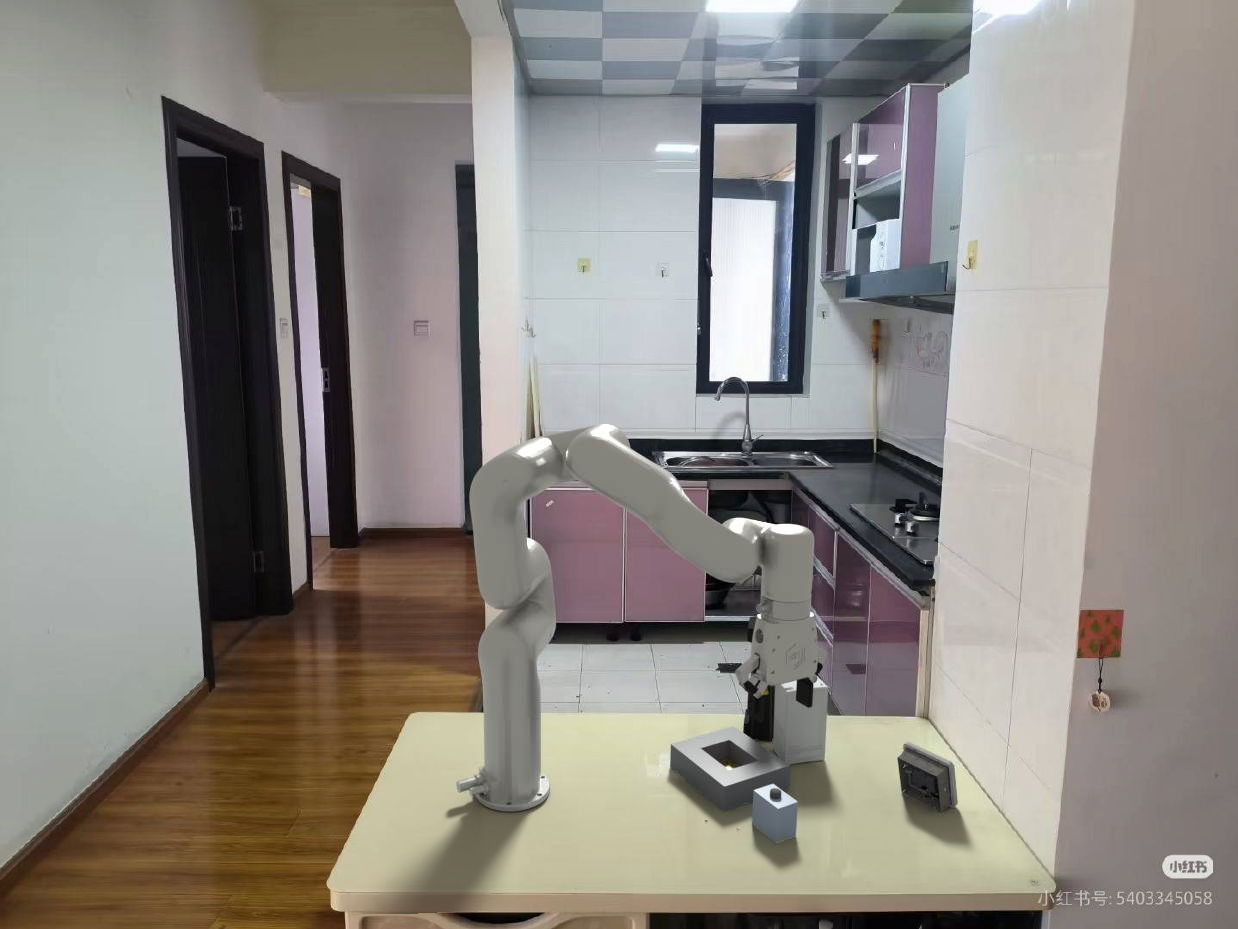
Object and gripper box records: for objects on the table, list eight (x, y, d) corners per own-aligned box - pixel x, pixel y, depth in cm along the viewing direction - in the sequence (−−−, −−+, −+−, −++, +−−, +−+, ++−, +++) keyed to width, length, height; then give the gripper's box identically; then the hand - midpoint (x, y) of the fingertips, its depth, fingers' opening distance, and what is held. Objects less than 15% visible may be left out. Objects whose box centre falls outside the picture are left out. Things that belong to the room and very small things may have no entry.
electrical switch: (958, 808, 151) (960, 758, 149) (940, 821, 148) (942, 771, 146) (910, 784, 158) (911, 736, 156) (892, 796, 155) (892, 748, 153)
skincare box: (812, 746, 171) (816, 672, 168) (826, 762, 165) (831, 686, 162) (770, 750, 169) (774, 675, 166) (783, 766, 163) (787, 689, 160)
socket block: (723, 811, 149) (724, 786, 148) (670, 767, 162) (670, 744, 161) (789, 789, 156) (790, 765, 155) (732, 748, 169) (733, 726, 168)
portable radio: (774, 745, 170) (781, 620, 166) (742, 742, 172) (748, 617, 167) (775, 726, 178) (782, 605, 173) (745, 723, 179) (750, 603, 174)
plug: (776, 844, 140) (778, 804, 139) (752, 824, 145) (753, 785, 144) (795, 836, 142) (798, 797, 141) (771, 817, 147) (773, 779, 146)
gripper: (755, 624, 129) (750, 734, 133) (845, 604, 138) (838, 708, 141) (724, 608, 136) (720, 713, 139) (811, 590, 144) (806, 690, 147)
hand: (779, 711), depth 140 cm, fingers open, 9 cm apart
